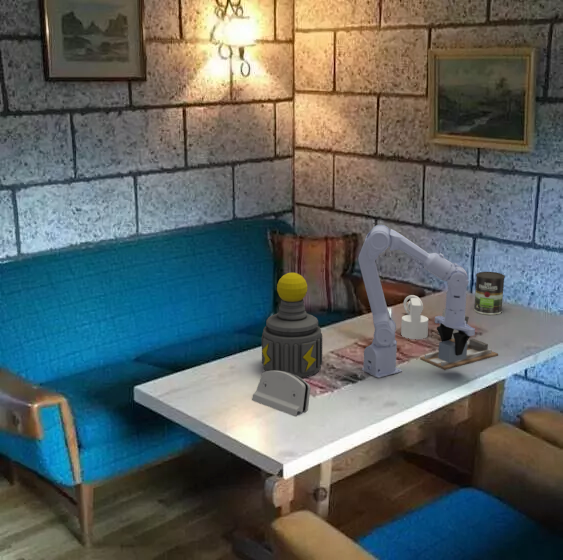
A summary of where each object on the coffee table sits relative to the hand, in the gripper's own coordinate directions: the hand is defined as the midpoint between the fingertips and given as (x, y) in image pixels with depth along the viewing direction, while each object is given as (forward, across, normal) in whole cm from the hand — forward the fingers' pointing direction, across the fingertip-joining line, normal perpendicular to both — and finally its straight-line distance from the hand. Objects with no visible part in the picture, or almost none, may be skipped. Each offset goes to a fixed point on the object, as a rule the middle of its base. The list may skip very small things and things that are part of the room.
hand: (452, 352), depth 232 cm
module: (+2, 0, 0) cm, 2 cm away
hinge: (+8, +10, +54) cm, 55 cm away
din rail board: (+7, +9, -13) cm, 17 cm away
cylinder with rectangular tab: (+8, +33, -15) cm, 37 cm away
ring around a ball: (+8, +50, -30) cm, 59 cm away
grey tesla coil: (+8, +30, +37) cm, 48 cm away
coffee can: (+7, +39, -57) cm, 70 cm away
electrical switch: (+7, +25, -25) cm, 36 cm away
